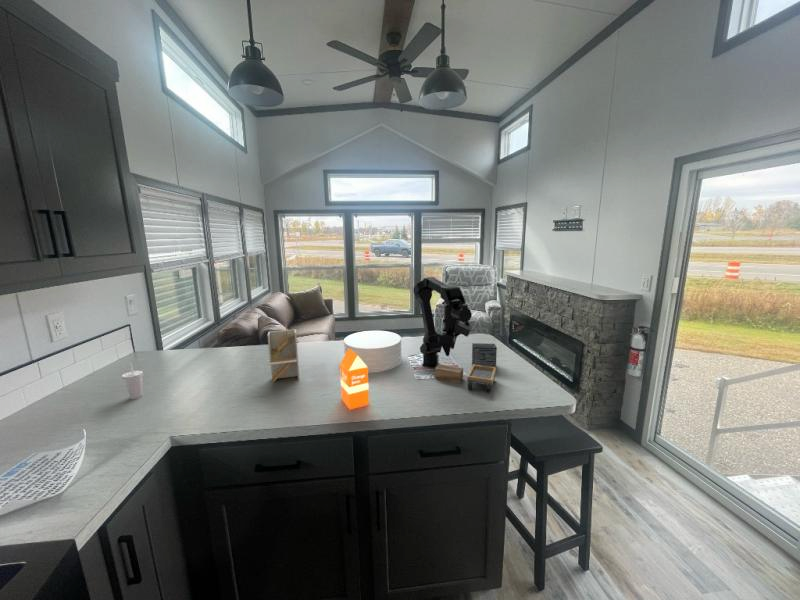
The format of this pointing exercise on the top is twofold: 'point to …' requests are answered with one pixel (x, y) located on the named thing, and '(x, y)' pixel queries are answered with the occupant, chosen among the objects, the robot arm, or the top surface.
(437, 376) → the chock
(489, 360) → the small box
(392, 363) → the plate stack
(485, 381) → the wooden frame tray
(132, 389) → the smoothie
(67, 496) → the top surface
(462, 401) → the top surface
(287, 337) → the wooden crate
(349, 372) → the orange juice
